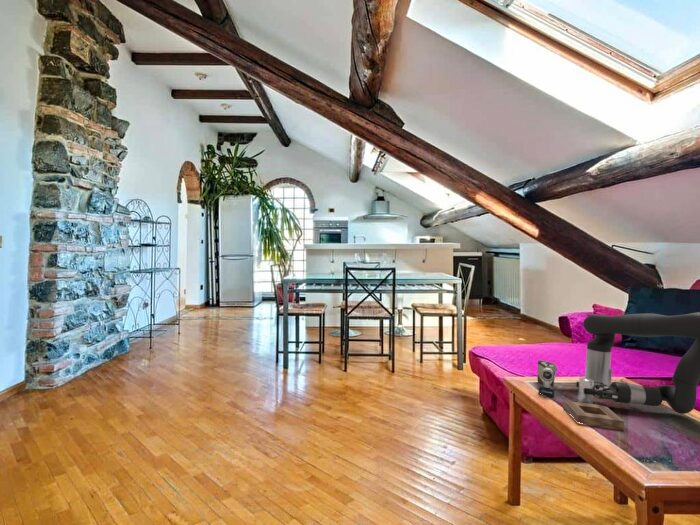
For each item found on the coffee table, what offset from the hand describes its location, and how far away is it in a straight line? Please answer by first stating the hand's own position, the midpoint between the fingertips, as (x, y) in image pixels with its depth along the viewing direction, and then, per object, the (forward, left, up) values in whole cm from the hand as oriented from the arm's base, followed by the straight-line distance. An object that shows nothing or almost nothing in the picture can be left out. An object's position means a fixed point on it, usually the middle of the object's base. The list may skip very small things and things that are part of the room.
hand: (580, 387), depth 148 cm
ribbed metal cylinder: (-2, 0, -6) cm, 7 cm away
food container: (+6, -20, -7) cm, 22 cm away
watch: (+10, -7, -7) cm, 14 cm away
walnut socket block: (+1, +15, -7) cm, 17 cm away
